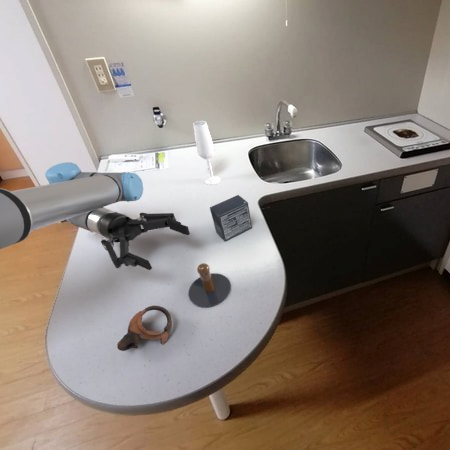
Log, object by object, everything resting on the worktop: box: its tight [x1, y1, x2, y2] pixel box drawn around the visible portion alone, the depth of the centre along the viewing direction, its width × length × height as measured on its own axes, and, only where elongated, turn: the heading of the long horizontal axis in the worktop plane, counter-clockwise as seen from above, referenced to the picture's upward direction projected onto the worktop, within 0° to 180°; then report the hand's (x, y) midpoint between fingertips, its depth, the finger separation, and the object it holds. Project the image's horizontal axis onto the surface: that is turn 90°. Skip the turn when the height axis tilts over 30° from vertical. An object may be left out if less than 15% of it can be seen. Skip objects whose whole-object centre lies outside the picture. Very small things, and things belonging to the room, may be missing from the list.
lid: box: [188, 262, 232, 309], centre depth 79 cm, size 11×11×10 cm
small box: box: [209, 194, 253, 242], centre depth 98 cm, size 11×6×10 cm, turn 130°
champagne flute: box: [192, 120, 222, 186], centre depth 117 cm, size 7×7×24 cm
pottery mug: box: [116, 305, 173, 352], centre depth 70 cm, size 12×10×8 cm
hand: (169, 247), depth 78 cm, fingers open, 13 cm apart
